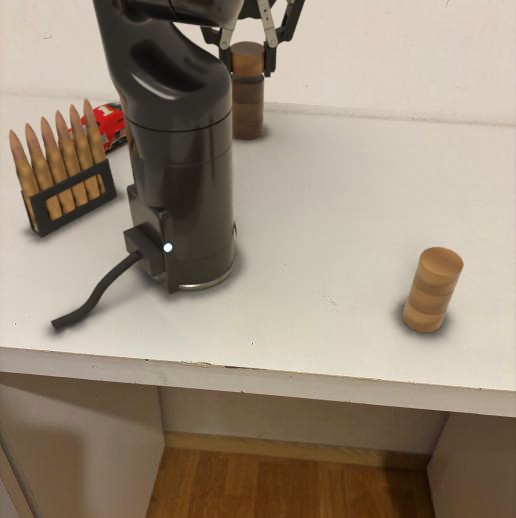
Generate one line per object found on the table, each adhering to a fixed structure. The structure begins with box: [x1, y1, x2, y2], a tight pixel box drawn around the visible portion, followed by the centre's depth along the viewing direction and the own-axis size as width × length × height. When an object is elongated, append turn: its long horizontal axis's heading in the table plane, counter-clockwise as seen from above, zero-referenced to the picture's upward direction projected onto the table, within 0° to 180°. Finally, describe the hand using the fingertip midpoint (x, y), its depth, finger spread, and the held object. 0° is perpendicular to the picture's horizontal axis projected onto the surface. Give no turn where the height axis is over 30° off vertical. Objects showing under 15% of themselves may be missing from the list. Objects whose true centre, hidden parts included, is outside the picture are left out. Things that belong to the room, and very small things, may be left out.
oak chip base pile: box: [402, 246, 464, 334], centre depth 54 cm, size 4×4×8 cm
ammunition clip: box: [8, 97, 118, 238], centre depth 62 cm, size 11×2×12 cm, turn 138°
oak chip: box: [230, 40, 265, 77], centre depth 72 cm, size 4×4×2 cm
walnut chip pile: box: [231, 72, 265, 141], centre depth 76 cm, size 4×4×8 cm
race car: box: [57, 101, 127, 152], centre depth 75 cm, size 13×5×4 cm, turn 140°
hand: (247, 75), depth 73 cm, fingers closed on oak chip, 4 cm apart
